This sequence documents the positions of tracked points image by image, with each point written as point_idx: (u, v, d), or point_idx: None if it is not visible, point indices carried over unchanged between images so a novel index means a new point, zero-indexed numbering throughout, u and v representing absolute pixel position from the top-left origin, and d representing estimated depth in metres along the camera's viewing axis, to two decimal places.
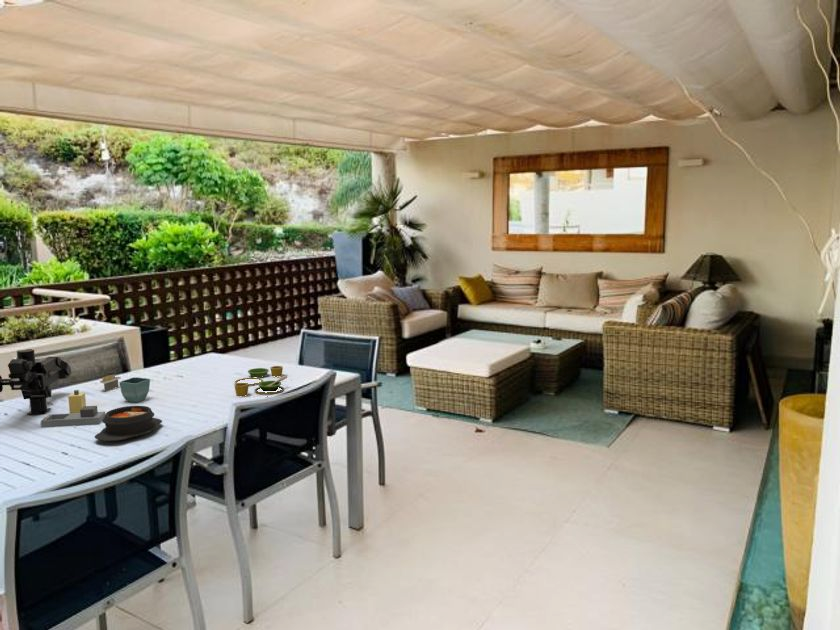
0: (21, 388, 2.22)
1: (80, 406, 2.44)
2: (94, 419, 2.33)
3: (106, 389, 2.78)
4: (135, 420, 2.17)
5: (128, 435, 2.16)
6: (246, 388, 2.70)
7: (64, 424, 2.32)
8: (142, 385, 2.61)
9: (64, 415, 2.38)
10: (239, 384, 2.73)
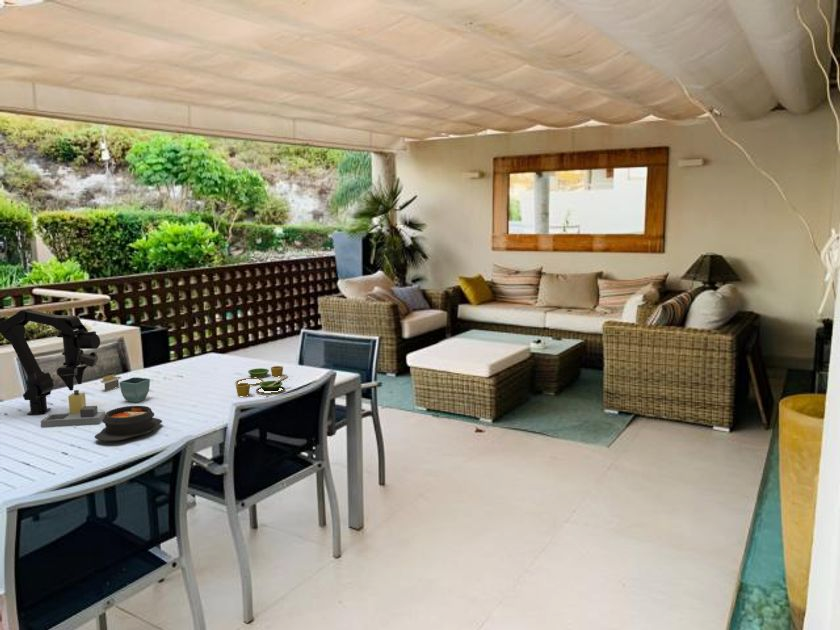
0: None
1: (80, 406, 2.44)
2: (94, 419, 2.33)
3: (106, 389, 2.78)
4: (135, 420, 2.17)
5: (128, 435, 2.16)
6: (247, 388, 2.70)
7: (64, 424, 2.32)
8: (142, 385, 2.61)
9: (64, 415, 2.38)
10: (240, 384, 2.73)
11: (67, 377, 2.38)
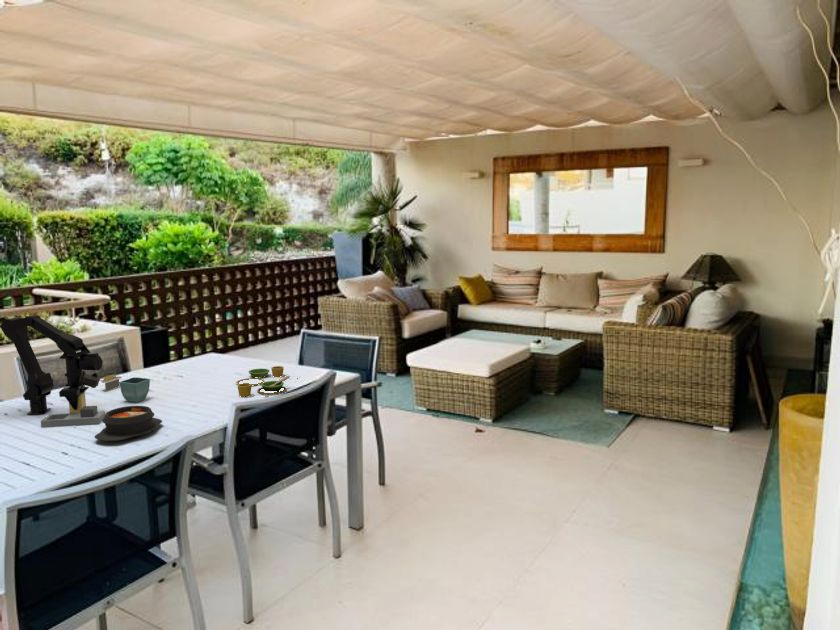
0: None
1: (80, 406, 2.44)
2: (94, 419, 2.33)
3: (107, 389, 2.79)
4: (135, 420, 2.17)
5: (128, 435, 2.16)
6: (249, 388, 2.70)
7: (64, 424, 2.32)
8: (142, 385, 2.61)
9: (64, 415, 2.38)
10: (242, 384, 2.73)
11: (71, 397, 2.41)
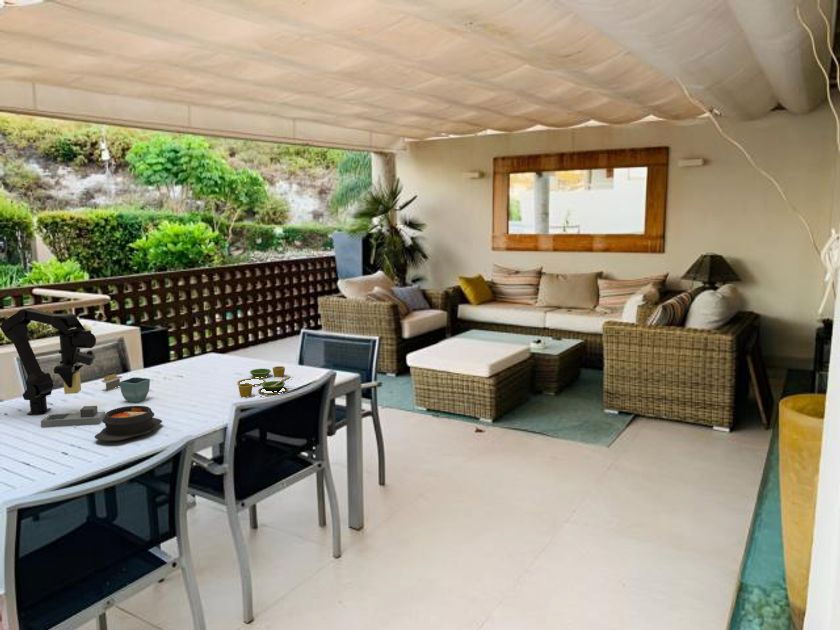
0: None
1: (75, 384, 2.40)
2: (94, 419, 2.33)
3: (108, 388, 2.79)
4: (135, 420, 2.17)
5: (128, 435, 2.16)
6: (250, 389, 2.69)
7: (64, 424, 2.32)
8: (142, 385, 2.61)
9: (64, 415, 2.38)
10: (243, 385, 2.72)
11: (66, 374, 2.38)
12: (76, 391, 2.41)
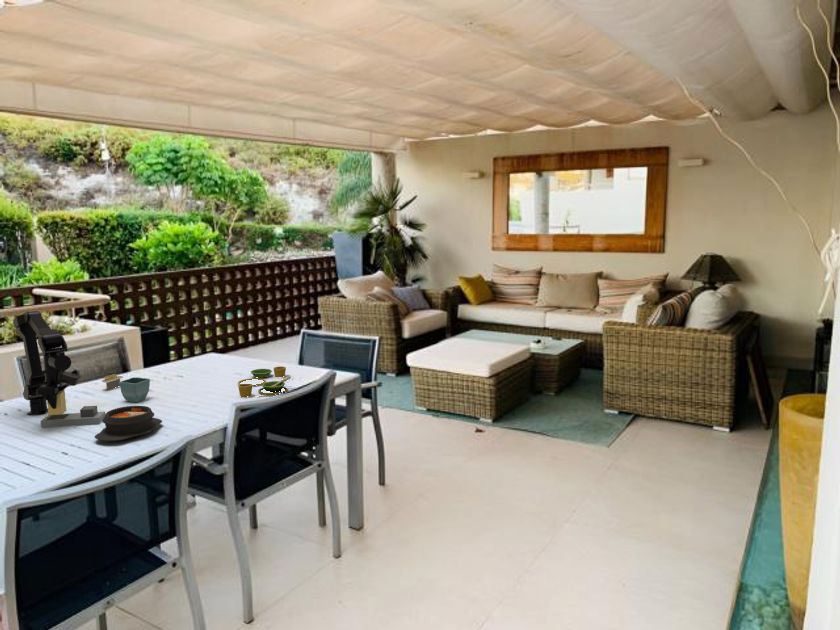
0: None
1: (59, 405, 2.32)
2: (94, 419, 2.33)
3: (108, 388, 2.79)
4: (135, 420, 2.17)
5: (128, 435, 2.16)
6: (250, 389, 2.69)
7: (64, 424, 2.32)
8: (142, 385, 2.61)
9: (64, 415, 2.38)
10: (243, 385, 2.72)
11: (50, 395, 2.29)
12: (60, 412, 2.32)
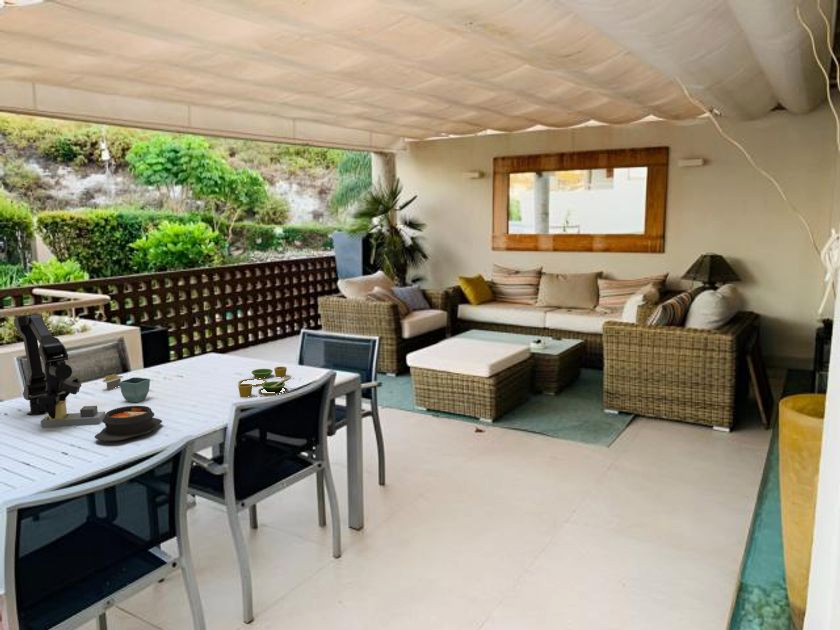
0: None
1: (60, 415, 2.32)
2: (94, 419, 2.33)
3: (109, 388, 2.80)
4: (135, 420, 2.17)
5: (128, 435, 2.16)
6: (250, 389, 2.69)
7: (64, 424, 2.32)
8: (142, 385, 2.61)
9: None
10: (243, 385, 2.72)
11: (49, 405, 2.28)
12: None
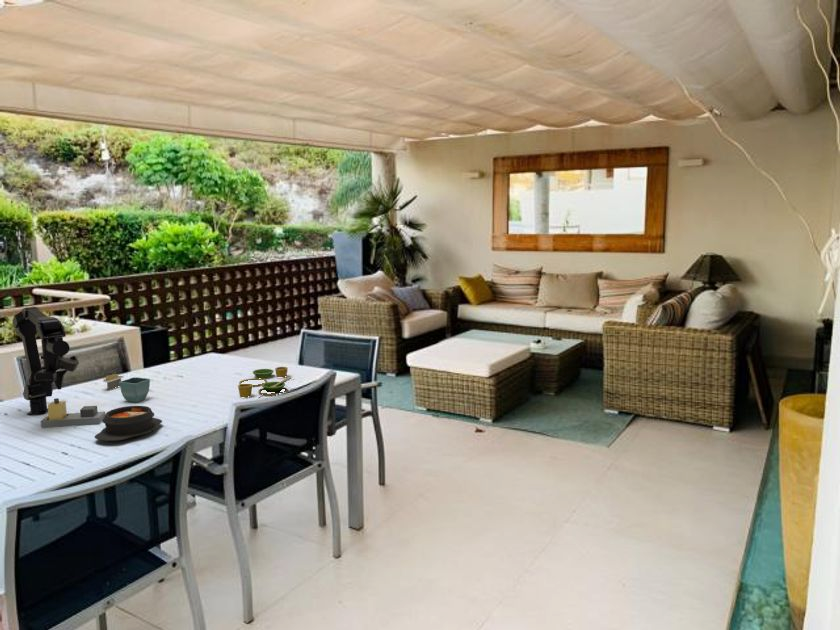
0: None
1: (60, 415, 2.32)
2: (94, 419, 2.33)
3: (109, 388, 2.80)
4: (135, 420, 2.17)
5: (128, 435, 2.16)
6: (250, 389, 2.69)
7: (64, 424, 2.32)
8: (142, 385, 2.61)
9: None
10: (243, 385, 2.72)
11: (46, 382, 2.27)
12: None
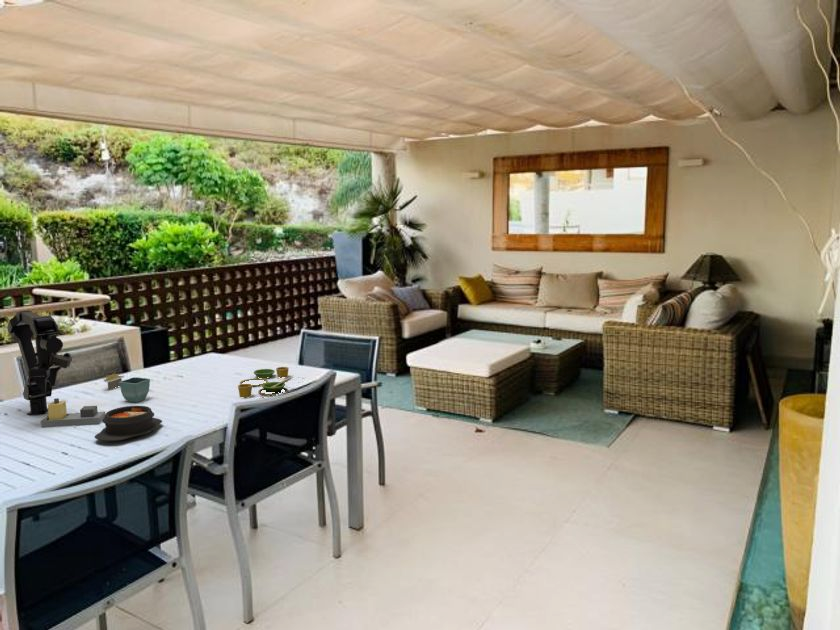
0: None
1: (60, 415, 2.32)
2: (94, 419, 2.33)
3: (110, 388, 2.80)
4: (135, 420, 2.17)
5: (128, 435, 2.16)
6: (249, 389, 2.69)
7: (64, 424, 2.32)
8: (142, 385, 2.61)
9: None
10: (243, 385, 2.72)
11: (39, 379, 2.31)
12: None
